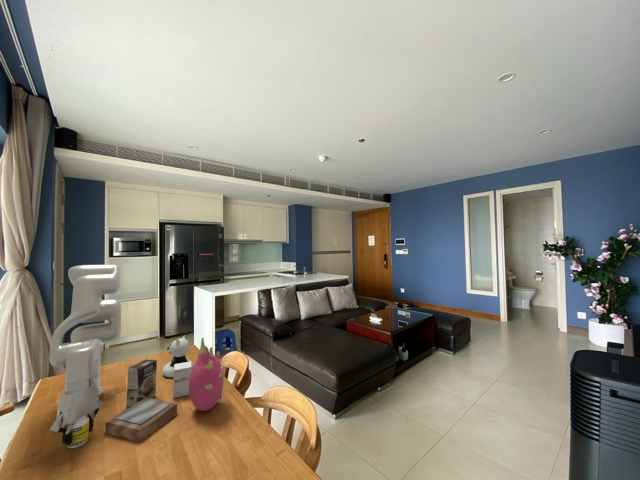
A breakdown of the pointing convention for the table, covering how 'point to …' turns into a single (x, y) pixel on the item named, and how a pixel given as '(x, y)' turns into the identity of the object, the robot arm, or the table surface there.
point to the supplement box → (181, 379)
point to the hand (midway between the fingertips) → (78, 436)
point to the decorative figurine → (177, 355)
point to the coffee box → (141, 381)
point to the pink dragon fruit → (206, 379)
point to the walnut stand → (141, 419)
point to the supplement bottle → (79, 432)
